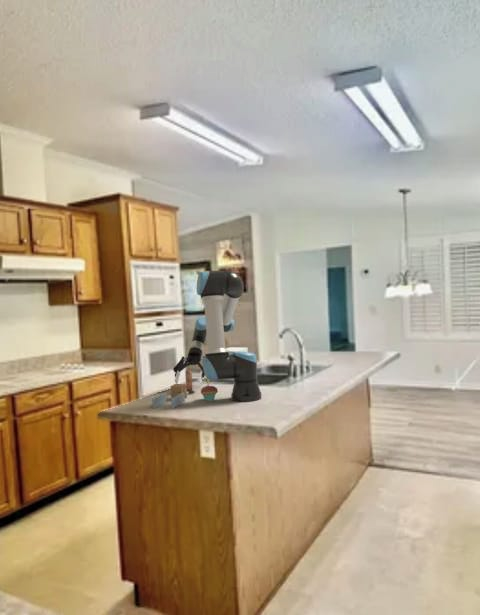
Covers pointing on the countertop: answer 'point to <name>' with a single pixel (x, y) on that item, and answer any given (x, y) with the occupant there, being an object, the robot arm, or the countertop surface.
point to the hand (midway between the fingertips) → (187, 382)
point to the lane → (163, 398)
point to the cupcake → (209, 392)
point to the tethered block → (183, 386)
